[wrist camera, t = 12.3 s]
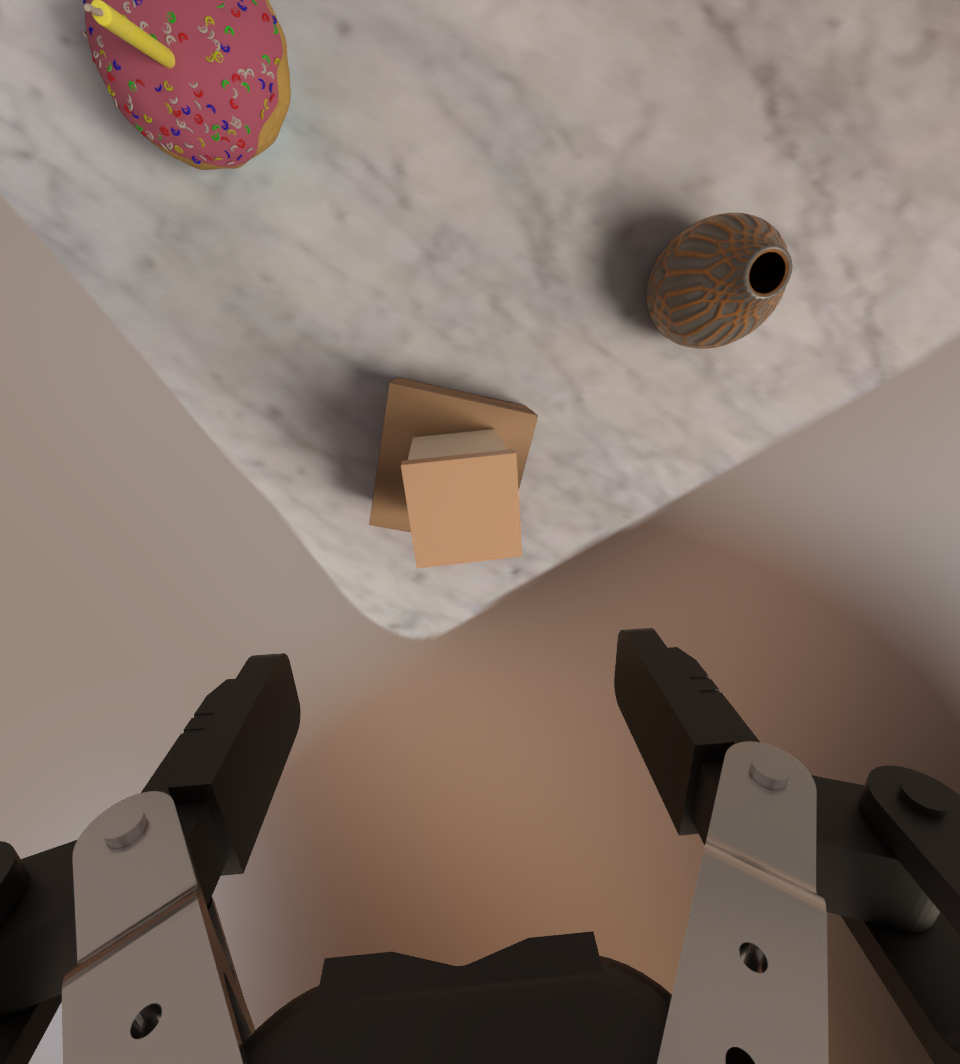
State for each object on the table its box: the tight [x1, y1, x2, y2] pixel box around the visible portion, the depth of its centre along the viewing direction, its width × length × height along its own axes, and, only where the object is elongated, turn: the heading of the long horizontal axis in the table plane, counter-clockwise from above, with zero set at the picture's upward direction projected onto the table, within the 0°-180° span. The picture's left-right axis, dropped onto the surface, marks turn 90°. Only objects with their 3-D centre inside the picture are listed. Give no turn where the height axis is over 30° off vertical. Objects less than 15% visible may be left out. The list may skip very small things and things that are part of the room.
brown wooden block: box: [369, 377, 538, 532], centre depth 32 cm, size 9×9×5 cm
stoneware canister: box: [401, 429, 522, 568], centre depth 26 cm, size 5×5×7 cm
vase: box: [647, 213, 792, 348], centre depth 27 cm, size 7×7×9 cm
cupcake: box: [82, 0, 290, 170], centre depth 20 cm, size 9×8×12 cm
